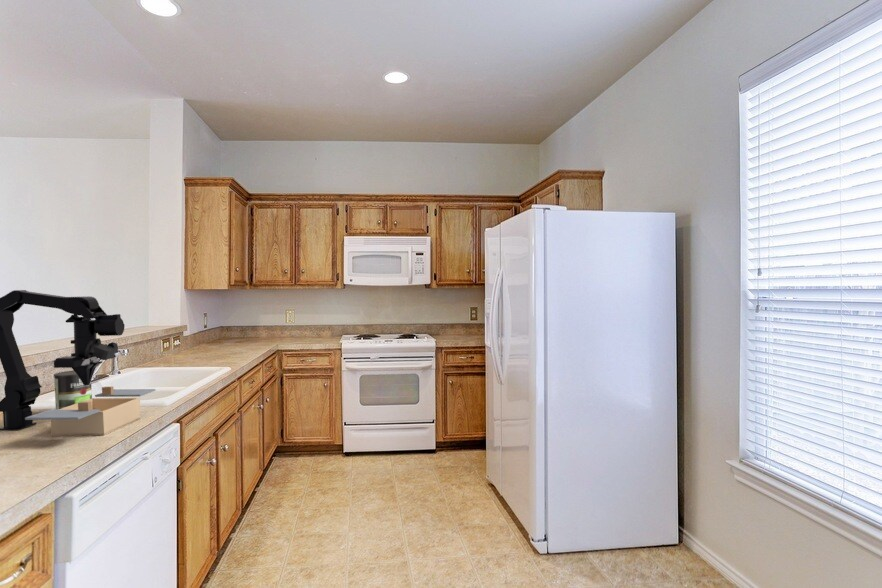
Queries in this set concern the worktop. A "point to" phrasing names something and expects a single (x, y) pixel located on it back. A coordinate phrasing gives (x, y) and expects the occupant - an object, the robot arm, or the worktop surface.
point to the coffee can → (70, 389)
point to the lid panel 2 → (123, 392)
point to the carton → (99, 417)
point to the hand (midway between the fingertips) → (86, 385)
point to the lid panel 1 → (66, 413)
